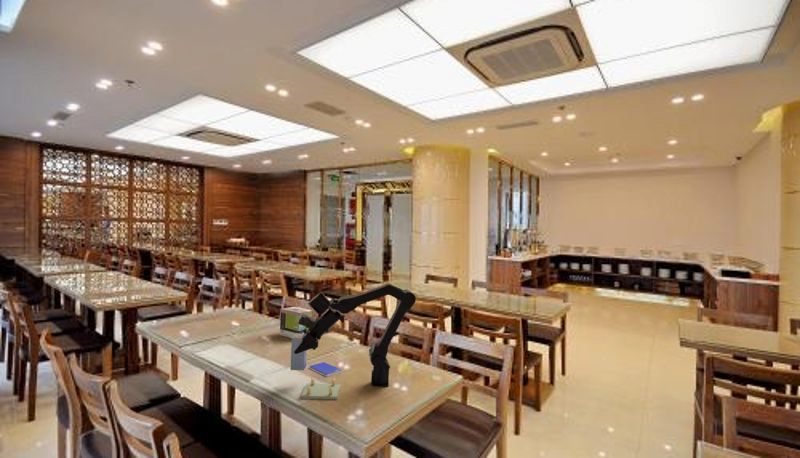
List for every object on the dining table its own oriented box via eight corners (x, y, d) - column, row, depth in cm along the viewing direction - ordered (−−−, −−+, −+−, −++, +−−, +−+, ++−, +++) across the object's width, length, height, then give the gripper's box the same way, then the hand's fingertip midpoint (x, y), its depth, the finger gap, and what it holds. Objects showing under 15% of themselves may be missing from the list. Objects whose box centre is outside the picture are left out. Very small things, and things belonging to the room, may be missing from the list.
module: (306, 365, 153) (307, 333, 153) (303, 370, 148) (305, 337, 148) (293, 365, 153) (294, 333, 153) (290, 370, 148) (291, 337, 148)
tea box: (312, 336, 214) (313, 309, 214) (298, 340, 206) (299, 312, 205) (292, 331, 222) (294, 305, 222) (278, 335, 214) (280, 308, 213)
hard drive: (342, 369, 166) (324, 361, 175) (326, 374, 160) (309, 365, 168) (342, 373, 166) (324, 365, 175) (326, 378, 160) (308, 369, 168)
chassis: (340, 386, 151) (340, 377, 151) (337, 399, 140) (337, 389, 140) (306, 385, 150) (306, 376, 150) (300, 398, 140) (301, 388, 139)
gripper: (312, 302, 160) (283, 329, 159) (310, 313, 142) (277, 343, 140) (331, 321, 162) (303, 348, 160) (331, 334, 143) (299, 365, 142)
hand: (295, 350), depth 150 cm, fingers closed on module, 5 cm apart
